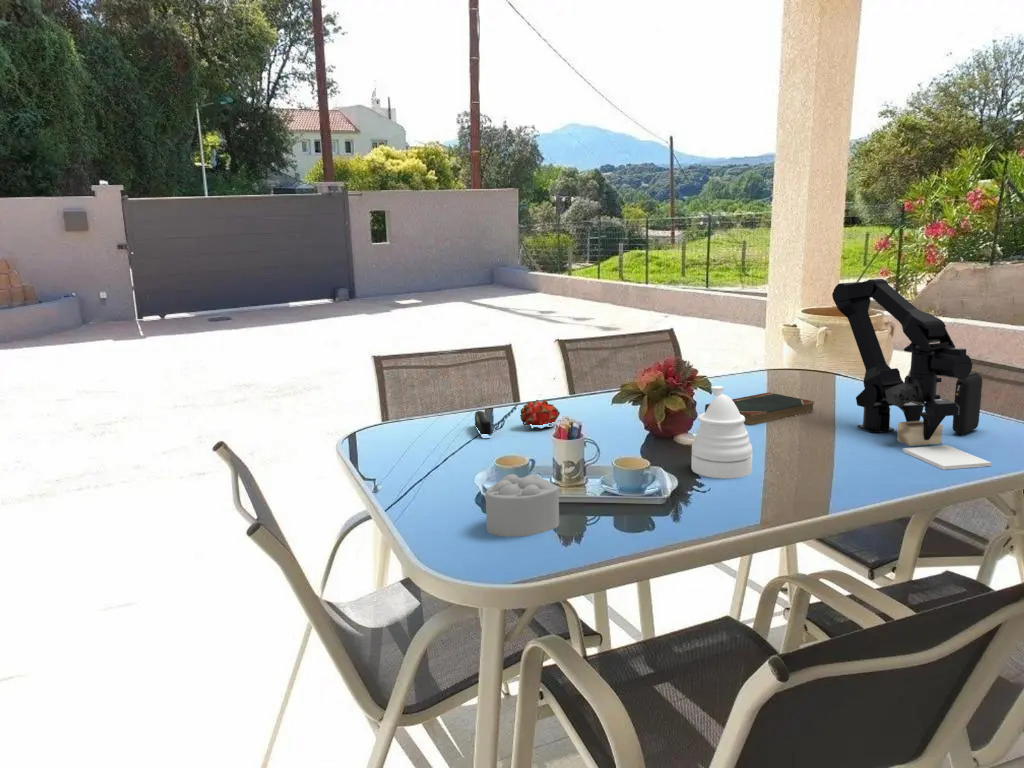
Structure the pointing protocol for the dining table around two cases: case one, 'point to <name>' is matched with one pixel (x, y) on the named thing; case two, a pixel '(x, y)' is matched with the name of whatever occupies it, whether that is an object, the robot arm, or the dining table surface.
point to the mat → (946, 457)
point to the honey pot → (722, 441)
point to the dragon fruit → (539, 413)
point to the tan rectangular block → (917, 434)
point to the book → (770, 407)
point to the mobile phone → (482, 422)
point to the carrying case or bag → (967, 403)
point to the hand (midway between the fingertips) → (919, 437)
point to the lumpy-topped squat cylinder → (522, 506)
